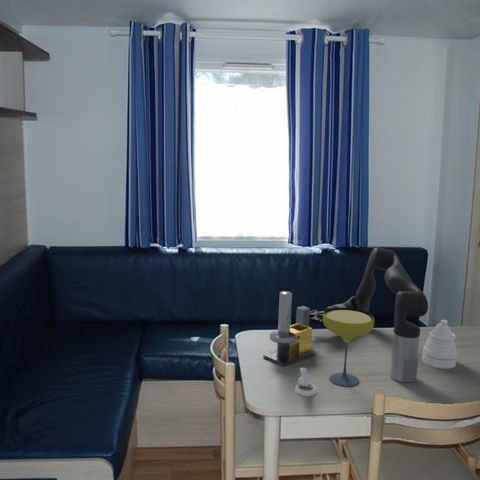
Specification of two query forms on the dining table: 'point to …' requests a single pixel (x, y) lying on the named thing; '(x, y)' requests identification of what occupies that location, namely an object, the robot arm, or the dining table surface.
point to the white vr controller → (305, 384)
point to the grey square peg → (303, 315)
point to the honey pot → (440, 347)
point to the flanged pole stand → (289, 336)
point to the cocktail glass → (347, 334)
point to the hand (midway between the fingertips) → (312, 320)
